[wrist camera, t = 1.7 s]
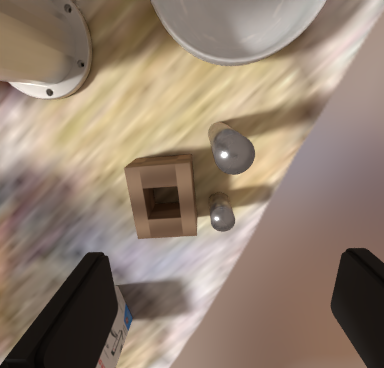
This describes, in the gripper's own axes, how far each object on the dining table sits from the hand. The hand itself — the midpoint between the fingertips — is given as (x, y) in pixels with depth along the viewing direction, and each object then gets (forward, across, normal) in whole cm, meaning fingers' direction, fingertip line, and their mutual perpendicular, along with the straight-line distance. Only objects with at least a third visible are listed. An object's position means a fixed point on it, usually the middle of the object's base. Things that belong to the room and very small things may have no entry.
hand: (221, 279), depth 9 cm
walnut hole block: (+23, +6, +5) cm, 24 cm away
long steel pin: (+23, -2, -3) cm, 23 cm away
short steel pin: (+23, -2, +7) cm, 24 cm away
